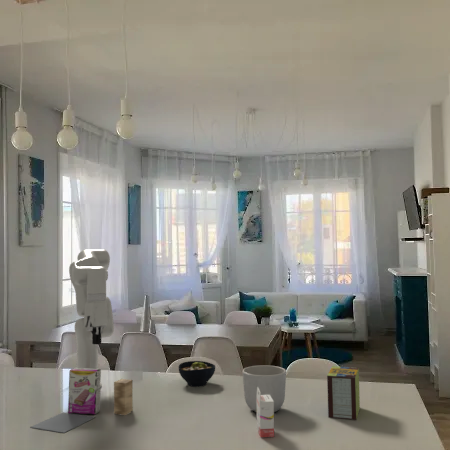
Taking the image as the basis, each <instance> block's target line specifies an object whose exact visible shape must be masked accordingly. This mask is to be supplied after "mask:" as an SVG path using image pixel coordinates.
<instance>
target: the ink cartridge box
mask: <svg viewBox="0 0 450 450" xmlns="http://www.w3.org/2000/svg"><path fill="white" fill-rule="evenodd" d="M258 392H259V394H258ZM274 415H275V412H274V401H273V399H272V398H271V396H270V395H261V392H260V390H259V388H258V387H257V412H256V430H257V432H258V434H259V436H260V437H259V438H274V437H275V416H274Z"/></svg>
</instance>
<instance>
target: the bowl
mask: <svg viewBox="0 0 450 450" xmlns="http://www.w3.org/2000/svg"><path fill="white" fill-rule="evenodd" d="M215 372H216V365H215V364H214V363H212V362H207V361H202V360H201V361H200V360H189V361H183V362H182V363H180V364H178V373H179V375H180V377H181V378H182V379H183V380H184V381H185V382H186V384H187V386H189V387H192V388H198V387H199V388H200V387H204V386H206V385H207V383H208V382H209V381H210V380H211V378H212V377H213V376H214V374H215Z"/></svg>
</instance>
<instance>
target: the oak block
mask: <svg viewBox="0 0 450 450" xmlns="http://www.w3.org/2000/svg"><path fill="white" fill-rule="evenodd" d="M113 395H114V396H113V413H114V415H120V414H121V416H127V415H128V414H131V413H132V412H133V380H132V379H127V378H126V379H125V378H121V379H118V380H116V381H113ZM131 411H132V412H131Z"/></svg>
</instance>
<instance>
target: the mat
mask: <svg viewBox="0 0 450 450" xmlns="http://www.w3.org/2000/svg"><path fill="white" fill-rule="evenodd" d="M93 419H96V416H92V415H91V416H90V415H86V414H77V413H68V412H63V411H62V412H60V413H58V414H56V415H54V416H52V417H49V418H47V419H44V420H42V421H40V422H38V423H36V424H33V425H32V426H30V427H29V428H30V429H37V430H43V431H49V432H54V433H60V434H61V433H62V434H65V433H67V432H69V431H71V430H73V429H75V428H78V427H79V426H82V425H83V424H85V423H87V422H89V421H91V420H93Z"/></svg>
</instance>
